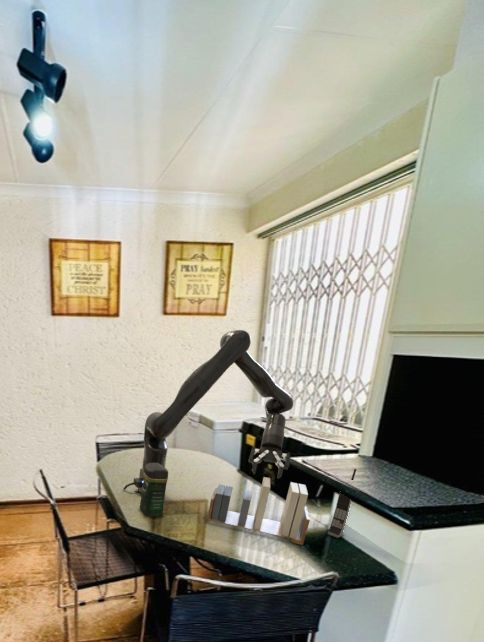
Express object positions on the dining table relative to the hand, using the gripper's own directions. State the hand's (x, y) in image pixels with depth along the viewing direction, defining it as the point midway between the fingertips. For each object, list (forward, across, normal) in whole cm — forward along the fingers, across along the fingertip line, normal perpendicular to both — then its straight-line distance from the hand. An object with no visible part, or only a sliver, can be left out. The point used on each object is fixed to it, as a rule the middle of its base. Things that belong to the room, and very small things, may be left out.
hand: (266, 475), depth 144 cm
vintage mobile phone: (+13, +27, +10) cm, 32 cm away
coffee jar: (+26, -37, -2) cm, 45 cm away
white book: (+18, 0, +3) cm, 19 cm away
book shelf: (+20, -1, +4) cm, 20 cm away
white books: (+18, +10, +3) cm, 21 cm away
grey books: (+18, -10, +3) cm, 21 cm away
